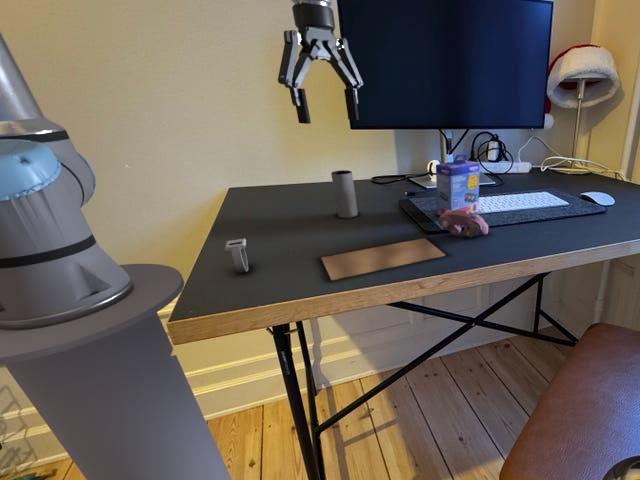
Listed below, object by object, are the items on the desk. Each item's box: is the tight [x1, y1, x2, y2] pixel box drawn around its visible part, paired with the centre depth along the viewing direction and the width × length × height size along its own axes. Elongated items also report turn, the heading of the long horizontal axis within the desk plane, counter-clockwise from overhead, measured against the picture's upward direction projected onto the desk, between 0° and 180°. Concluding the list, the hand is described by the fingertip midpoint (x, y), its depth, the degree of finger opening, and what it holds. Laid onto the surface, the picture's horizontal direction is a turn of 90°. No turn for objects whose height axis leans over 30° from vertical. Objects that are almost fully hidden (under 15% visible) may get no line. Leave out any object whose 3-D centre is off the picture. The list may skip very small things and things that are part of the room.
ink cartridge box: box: [435, 152, 481, 217], centre depth 88 cm, size 10×6×14 cm, turn 137°
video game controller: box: [438, 210, 489, 238], centre depth 76 cm, size 10×5×7 cm
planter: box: [330, 169, 359, 219], centre depth 87 cm, size 4×4×10 cm
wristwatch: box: [224, 238, 249, 274], centre depth 60 cm, size 6×3×5 cm, turn 28°
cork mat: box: [320, 237, 447, 282], centre depth 67 cm, size 20×10×1 cm, turn 120°
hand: (330, 121), depth 82 cm, fingers open, 13 cm apart
